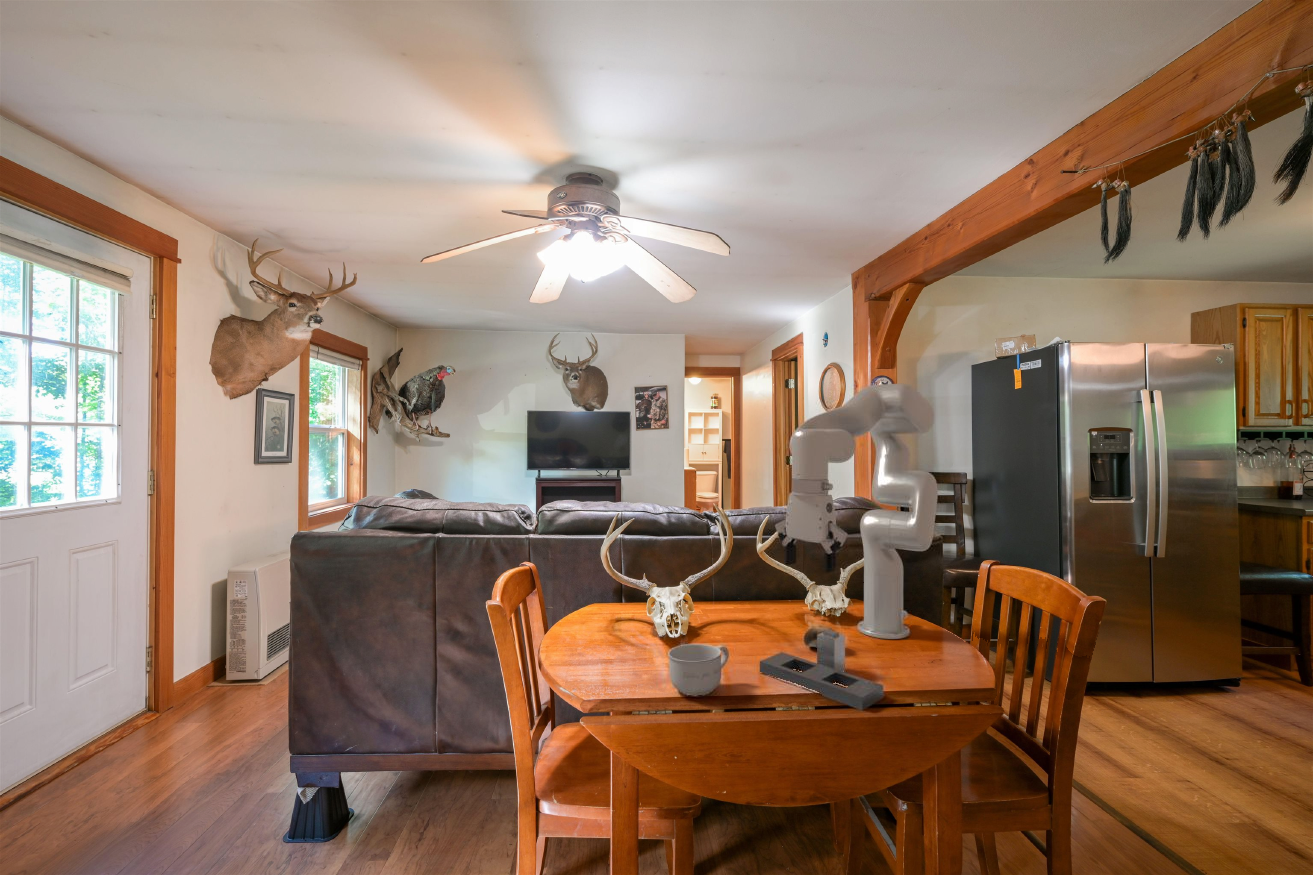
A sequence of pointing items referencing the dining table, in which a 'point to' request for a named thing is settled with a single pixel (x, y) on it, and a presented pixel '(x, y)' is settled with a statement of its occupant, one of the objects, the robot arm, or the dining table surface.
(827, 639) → the grey rectangular block
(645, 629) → the dining table surface
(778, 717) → the dining table surface
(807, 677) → the rail
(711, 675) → the teacup
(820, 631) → the mushroom
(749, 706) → the dining table surface
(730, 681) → the dining table surface
